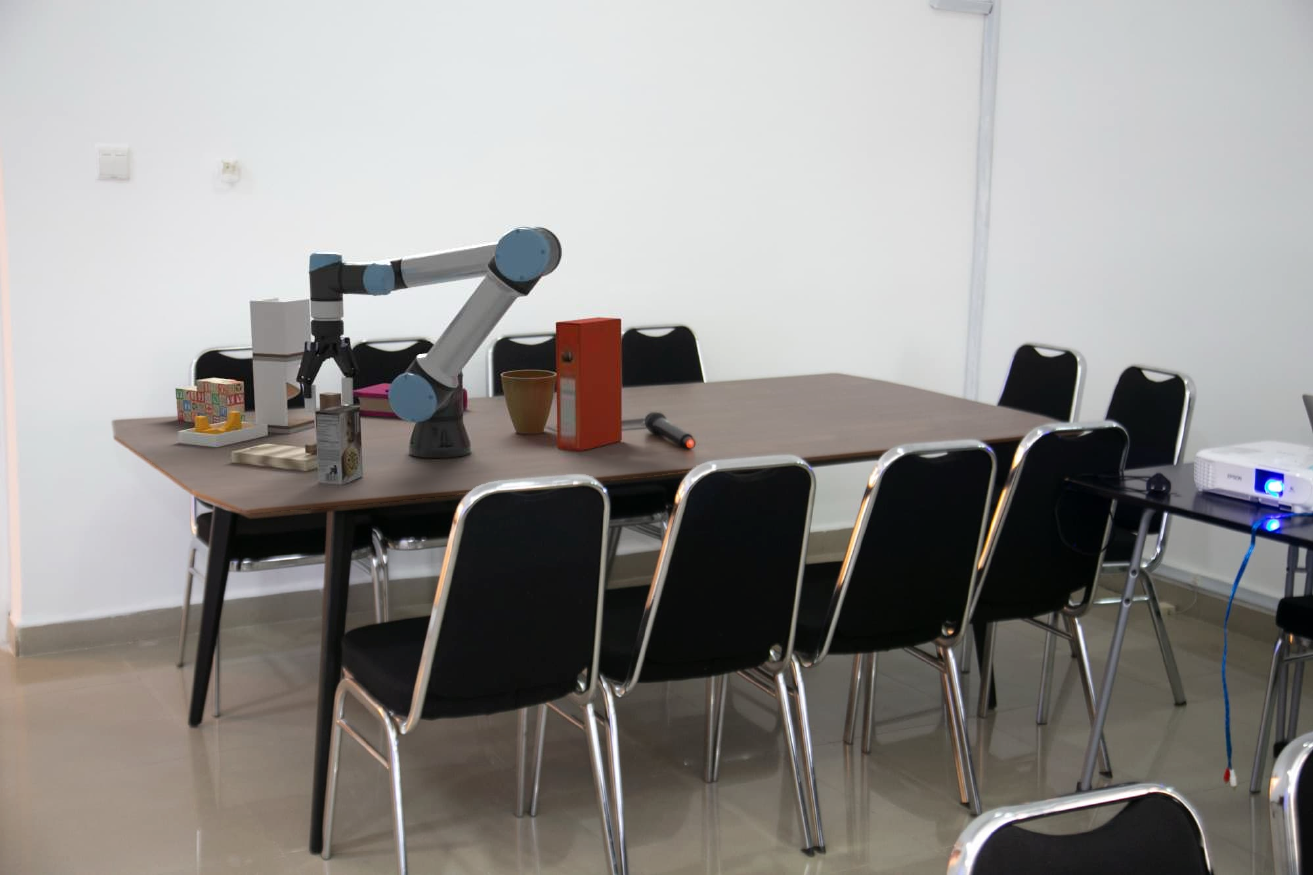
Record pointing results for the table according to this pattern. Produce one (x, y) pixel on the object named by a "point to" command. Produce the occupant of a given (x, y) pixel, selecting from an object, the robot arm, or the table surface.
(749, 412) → the table surface
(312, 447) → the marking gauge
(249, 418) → the table surface
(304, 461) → the pine board
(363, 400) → the book
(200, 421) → the pipe clamp
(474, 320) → the robot arm
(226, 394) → the stack of blocks
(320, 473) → the printed food box
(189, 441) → the clamp rest frame
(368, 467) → the table surface
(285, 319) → the white column with cutout
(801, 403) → the table surface
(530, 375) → the plant pot
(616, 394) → the file binder
